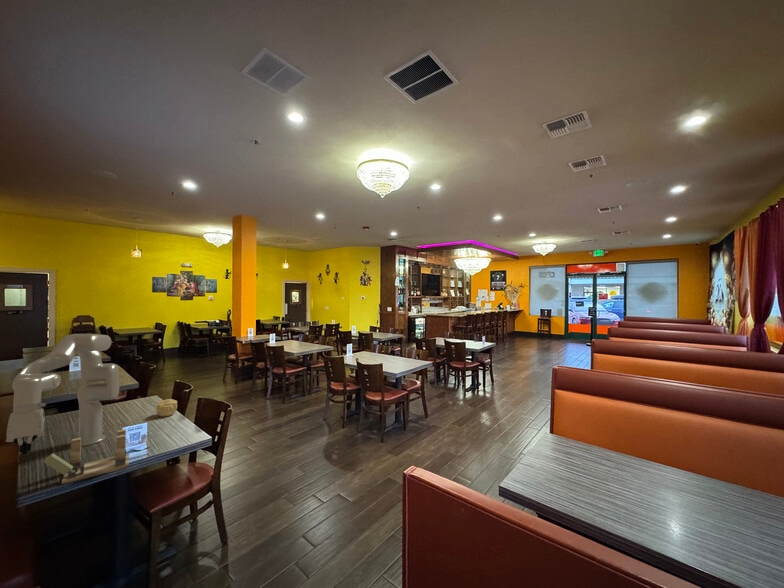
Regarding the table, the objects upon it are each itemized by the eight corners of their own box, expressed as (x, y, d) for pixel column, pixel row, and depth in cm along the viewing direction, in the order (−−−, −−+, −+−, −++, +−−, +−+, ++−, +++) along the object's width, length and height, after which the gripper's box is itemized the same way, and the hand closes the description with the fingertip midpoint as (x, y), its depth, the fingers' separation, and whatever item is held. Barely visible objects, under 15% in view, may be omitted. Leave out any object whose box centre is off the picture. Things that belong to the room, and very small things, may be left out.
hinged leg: (71, 475, 142) (45, 458, 137) (78, 469, 144) (52, 452, 139) (69, 479, 139) (42, 462, 134) (77, 473, 140) (51, 456, 135)
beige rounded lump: (157, 419, 209) (157, 403, 210) (155, 414, 218) (155, 398, 219) (178, 415, 217) (178, 399, 217) (175, 410, 226) (175, 395, 226)
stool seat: (67, 470, 148) (68, 438, 148) (129, 456, 161) (129, 427, 162) (61, 484, 137) (62, 450, 137) (128, 467, 150) (129, 436, 151)
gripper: (54, 402, 140) (53, 445, 140) (2, 409, 131) (0, 455, 130) (51, 406, 134) (49, 451, 134) (-4, 414, 125) (-7, 462, 124)
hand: (25, 453), depth 132 cm, fingers closed
